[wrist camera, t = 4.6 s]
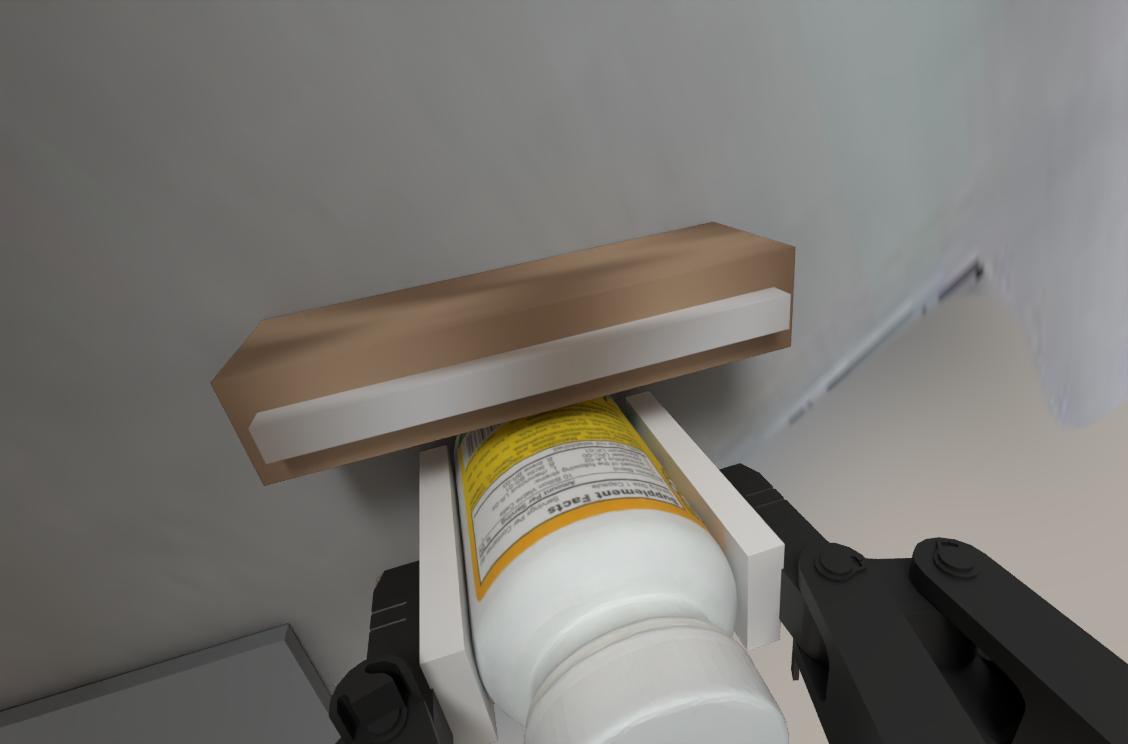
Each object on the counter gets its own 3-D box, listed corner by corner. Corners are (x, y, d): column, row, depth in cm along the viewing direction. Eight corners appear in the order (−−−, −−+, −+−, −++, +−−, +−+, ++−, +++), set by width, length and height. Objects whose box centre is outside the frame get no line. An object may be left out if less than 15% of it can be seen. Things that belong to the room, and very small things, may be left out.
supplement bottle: (465, 355, 14) (532, 674, 6) (641, 373, 16) (889, 643, 8) (441, 513, 16) (464, 925, 8) (600, 516, 18) (761, 857, 10)
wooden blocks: (398, 628, 18) (393, 758, 14) (262, 320, 13) (198, 397, 9) (720, 526, 20) (790, 617, 16) (713, 221, 15) (813, 252, 11)
